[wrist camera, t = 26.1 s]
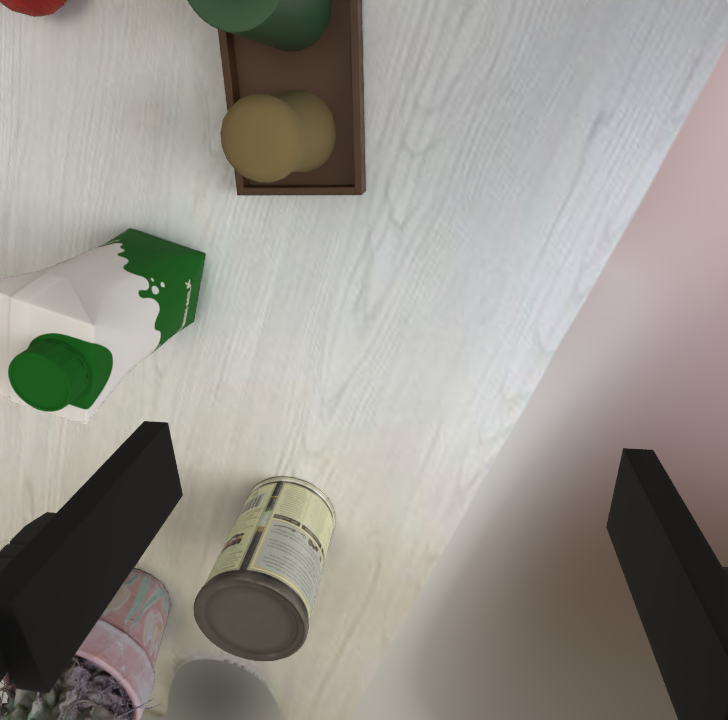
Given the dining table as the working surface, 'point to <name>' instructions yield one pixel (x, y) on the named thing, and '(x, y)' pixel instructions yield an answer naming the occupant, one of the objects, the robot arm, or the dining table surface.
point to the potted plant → (105, 662)
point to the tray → (318, 76)
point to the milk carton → (93, 321)
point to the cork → (278, 135)
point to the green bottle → (268, 20)
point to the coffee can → (268, 572)
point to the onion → (34, 6)
